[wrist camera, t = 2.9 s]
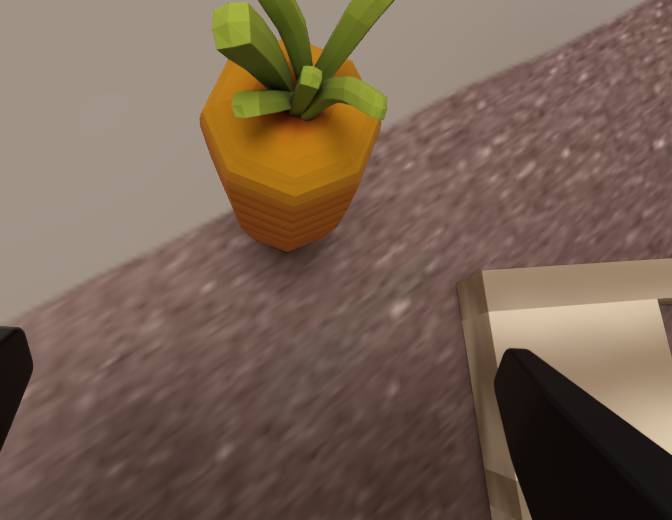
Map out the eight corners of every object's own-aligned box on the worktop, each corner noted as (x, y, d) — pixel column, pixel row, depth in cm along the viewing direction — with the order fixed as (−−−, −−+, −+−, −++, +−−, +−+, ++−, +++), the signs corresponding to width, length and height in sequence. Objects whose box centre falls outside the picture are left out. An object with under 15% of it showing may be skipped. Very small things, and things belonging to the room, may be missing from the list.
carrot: (335, 184, 24) (425, -115, 10) (339, 284, 23) (449, 113, 8) (232, 183, 23) (162, -139, 9) (231, 285, 22) (148, 105, 8)
